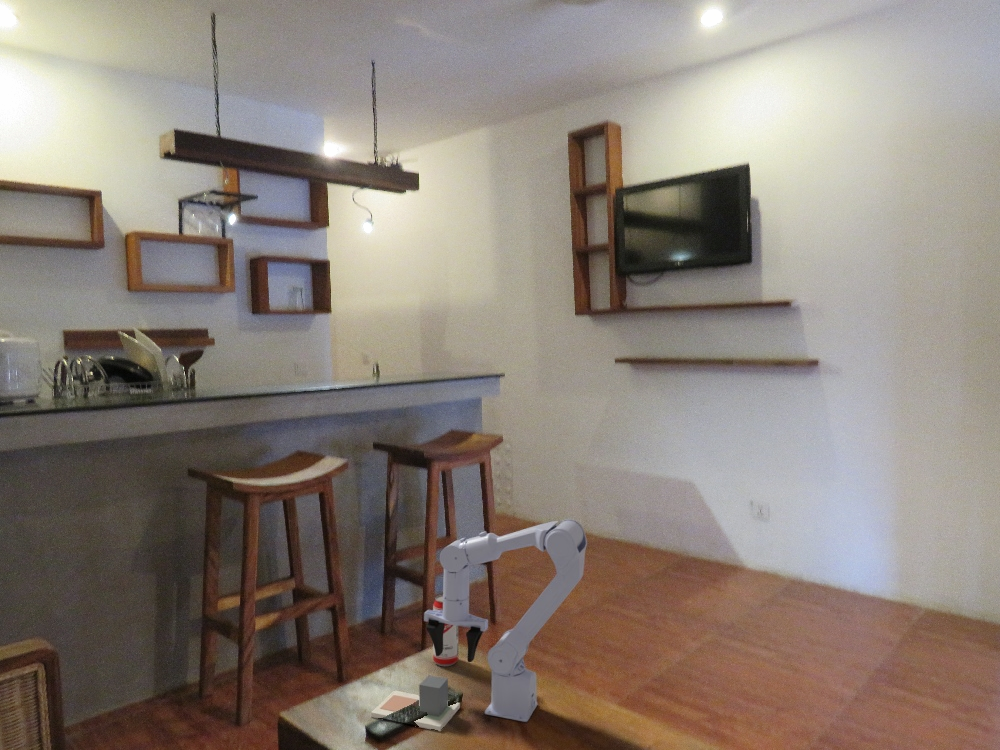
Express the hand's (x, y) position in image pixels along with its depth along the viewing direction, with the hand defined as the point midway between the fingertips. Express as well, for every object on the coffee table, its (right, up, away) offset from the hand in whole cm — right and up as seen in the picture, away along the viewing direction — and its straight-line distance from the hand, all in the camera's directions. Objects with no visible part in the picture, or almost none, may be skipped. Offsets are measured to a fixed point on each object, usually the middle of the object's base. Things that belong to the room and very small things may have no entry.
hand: (455, 657), depth 153 cm
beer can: (-3, -9, +19) cm, 21 cm away
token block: (-4, -9, -6) cm, 11 cm away
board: (-8, -10, -5) cm, 14 cm away
